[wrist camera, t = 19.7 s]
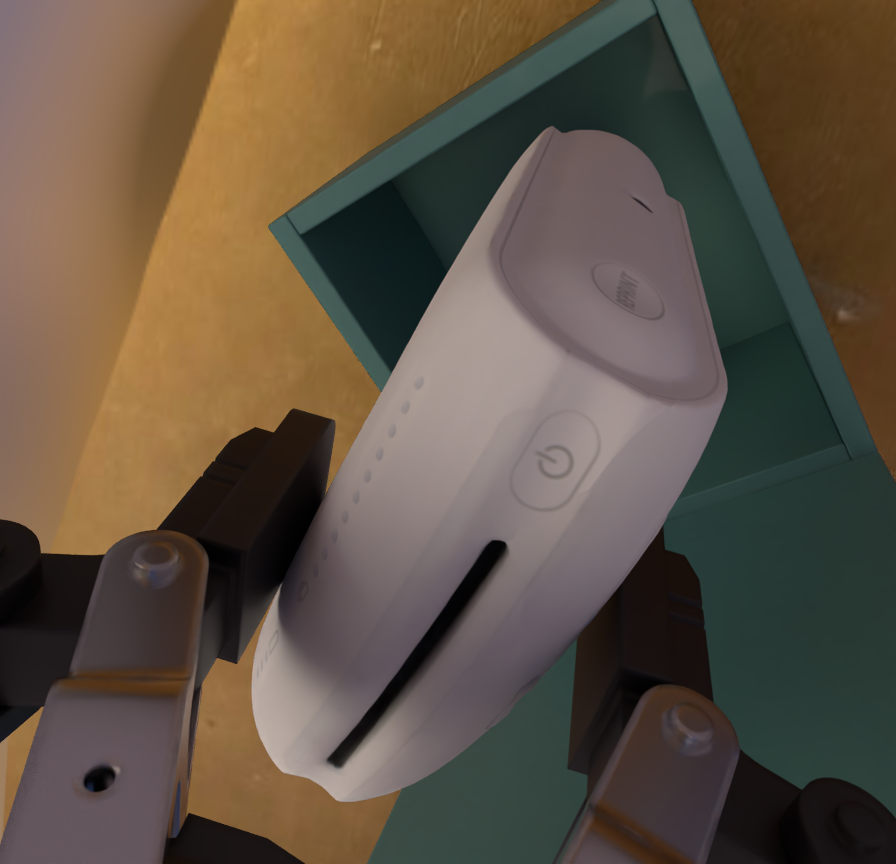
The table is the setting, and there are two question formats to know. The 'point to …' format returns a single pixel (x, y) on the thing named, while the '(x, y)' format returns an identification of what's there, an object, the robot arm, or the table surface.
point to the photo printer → (496, 475)
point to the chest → (684, 179)
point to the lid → (732, 673)
